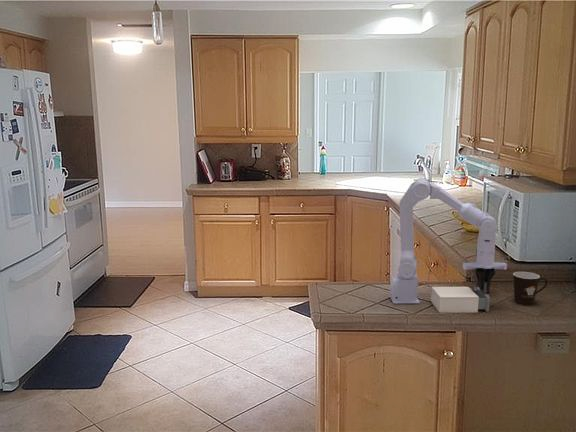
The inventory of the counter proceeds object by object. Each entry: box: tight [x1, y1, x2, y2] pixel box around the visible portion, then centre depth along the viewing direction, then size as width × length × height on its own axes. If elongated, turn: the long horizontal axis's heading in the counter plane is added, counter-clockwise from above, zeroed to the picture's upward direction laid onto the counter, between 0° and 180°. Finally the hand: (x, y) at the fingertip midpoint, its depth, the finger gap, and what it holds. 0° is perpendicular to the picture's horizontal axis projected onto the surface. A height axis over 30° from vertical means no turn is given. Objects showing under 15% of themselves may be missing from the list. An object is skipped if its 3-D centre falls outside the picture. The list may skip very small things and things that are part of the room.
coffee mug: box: [512, 271, 548, 306], centre depth 194 cm, size 12×9×10 cm
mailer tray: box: [471, 281, 491, 313], centre depth 190 cm, size 13×11×9 cm
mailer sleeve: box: [430, 286, 479, 314], centre depth 190 cm, size 13×11×6 cm
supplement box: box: [473, 249, 491, 297], centre depth 204 cm, size 9×5×16 cm, turn 168°
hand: (483, 289), depth 189 cm, fingers closed, pressing on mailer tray
